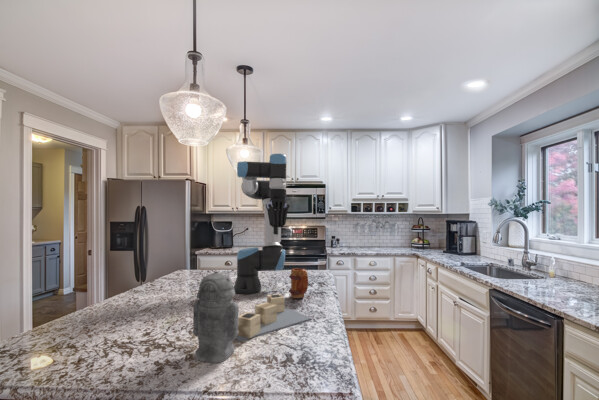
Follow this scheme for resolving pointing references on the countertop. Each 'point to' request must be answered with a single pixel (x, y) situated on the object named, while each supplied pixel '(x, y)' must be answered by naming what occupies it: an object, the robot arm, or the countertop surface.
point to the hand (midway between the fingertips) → (277, 241)
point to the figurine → (215, 318)
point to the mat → (279, 323)
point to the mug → (298, 283)
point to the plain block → (266, 312)
